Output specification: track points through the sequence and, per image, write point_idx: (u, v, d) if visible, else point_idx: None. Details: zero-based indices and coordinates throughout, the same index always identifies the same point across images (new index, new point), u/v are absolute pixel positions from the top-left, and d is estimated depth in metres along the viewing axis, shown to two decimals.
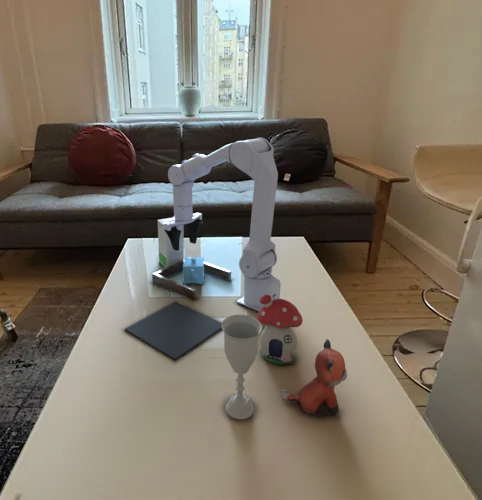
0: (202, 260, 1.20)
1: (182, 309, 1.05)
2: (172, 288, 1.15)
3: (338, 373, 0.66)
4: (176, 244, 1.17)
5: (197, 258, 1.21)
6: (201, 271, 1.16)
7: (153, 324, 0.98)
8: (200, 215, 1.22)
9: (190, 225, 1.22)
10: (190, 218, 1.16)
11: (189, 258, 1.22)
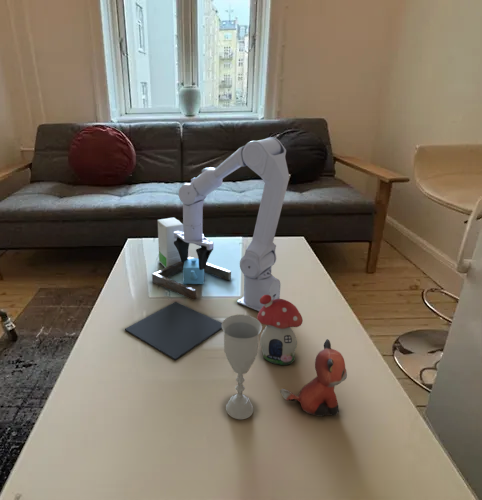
0: None
1: (182, 309, 1.05)
2: (172, 288, 1.15)
3: (338, 373, 0.66)
4: None
5: (197, 259, 1.22)
6: (201, 272, 1.17)
7: (153, 324, 0.98)
8: (207, 245, 1.11)
9: None
10: (186, 238, 1.13)
11: (189, 259, 1.22)
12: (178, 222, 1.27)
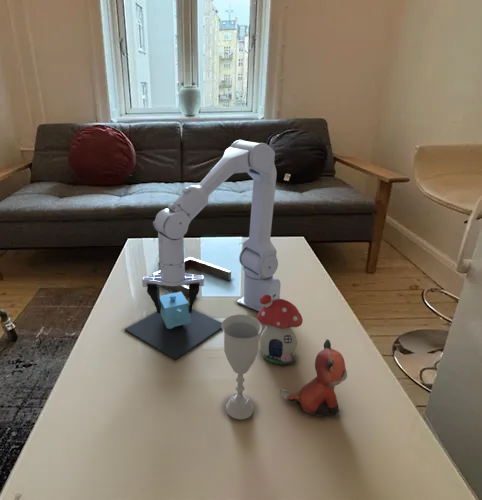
0: (182, 295, 0.97)
1: None
2: (172, 288, 1.15)
3: (338, 373, 0.66)
4: None
5: (174, 294, 0.98)
6: (187, 309, 0.94)
7: (153, 324, 0.98)
8: (200, 280, 0.91)
9: None
10: (172, 281, 0.89)
11: (165, 296, 0.98)
12: None
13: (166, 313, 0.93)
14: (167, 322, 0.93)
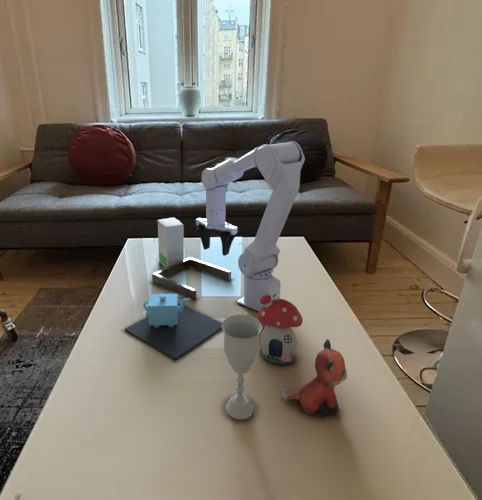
0: (159, 294, 0.99)
1: None
2: (172, 288, 1.15)
3: (338, 373, 0.66)
4: (229, 247, 1.16)
5: (153, 297, 0.98)
6: None
7: None
8: None
9: (205, 232, 1.18)
10: None
11: (152, 302, 0.95)
12: (178, 222, 1.27)
13: (177, 309, 0.95)
14: (177, 318, 0.96)
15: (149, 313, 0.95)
